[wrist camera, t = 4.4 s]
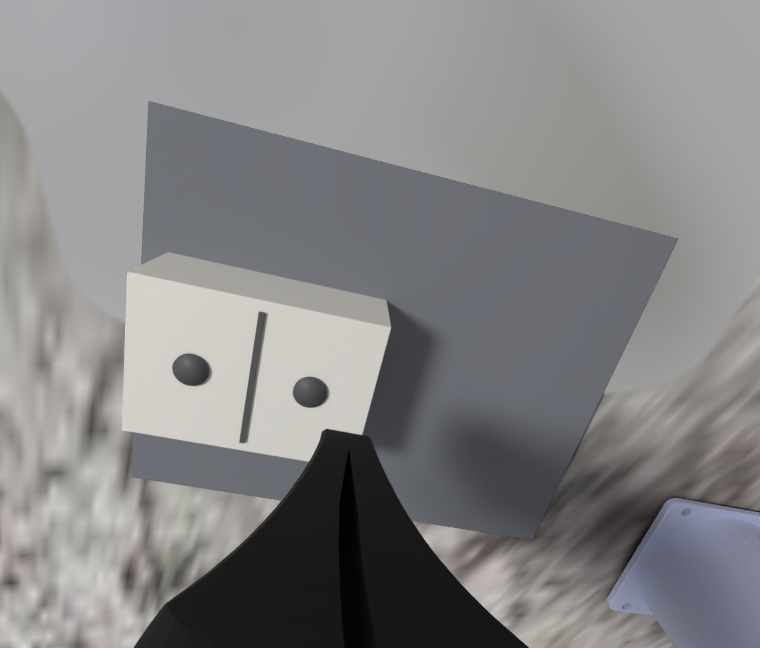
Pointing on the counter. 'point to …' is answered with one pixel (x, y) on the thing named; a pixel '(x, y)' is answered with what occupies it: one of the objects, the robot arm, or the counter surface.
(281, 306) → the tile
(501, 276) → the mat
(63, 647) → the counter surface
